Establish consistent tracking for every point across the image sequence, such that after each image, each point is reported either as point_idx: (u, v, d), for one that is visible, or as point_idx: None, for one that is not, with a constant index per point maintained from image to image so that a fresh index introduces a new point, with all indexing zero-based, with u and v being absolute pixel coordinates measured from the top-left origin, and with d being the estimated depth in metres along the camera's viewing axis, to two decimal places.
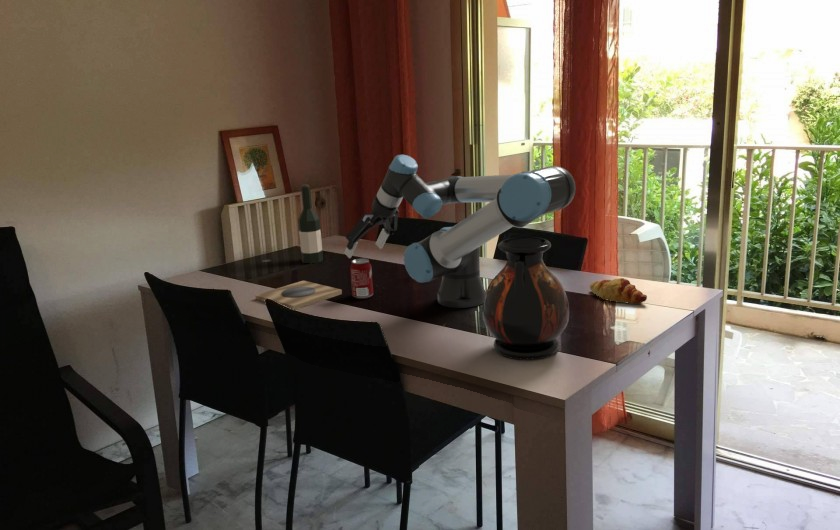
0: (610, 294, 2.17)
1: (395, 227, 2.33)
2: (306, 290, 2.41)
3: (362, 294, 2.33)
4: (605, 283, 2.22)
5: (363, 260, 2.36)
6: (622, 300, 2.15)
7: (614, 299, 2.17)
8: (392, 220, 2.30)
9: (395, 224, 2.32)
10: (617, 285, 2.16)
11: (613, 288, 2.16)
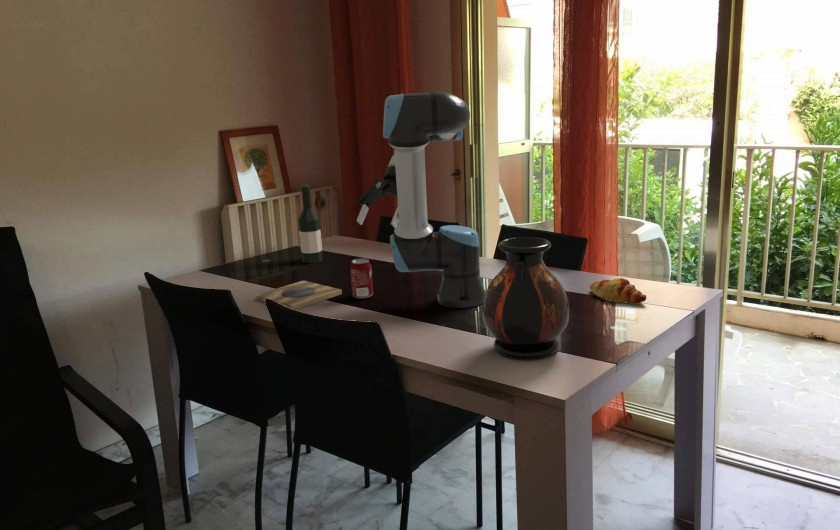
0: (610, 294, 2.17)
1: None
2: (306, 290, 2.41)
3: (362, 294, 2.33)
4: (605, 283, 2.22)
5: (363, 260, 2.36)
6: (621, 300, 2.15)
7: (614, 299, 2.17)
8: None
9: None
10: (617, 285, 2.16)
11: (613, 288, 2.16)
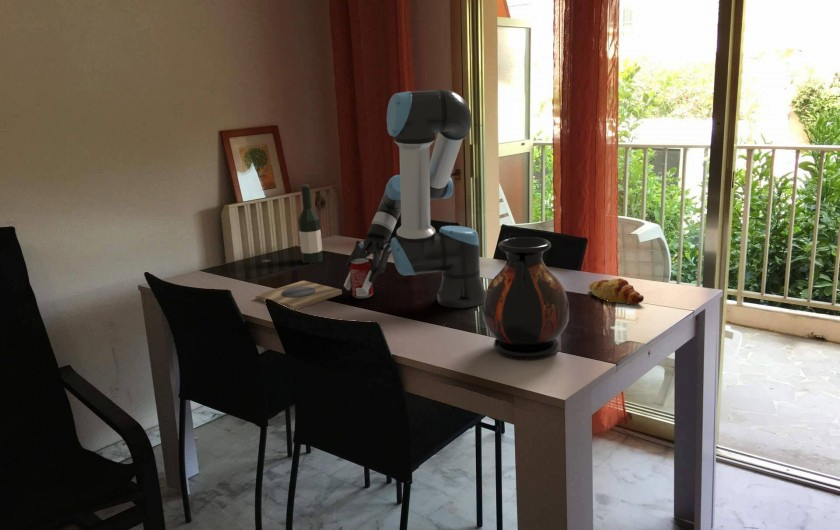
0: (607, 294, 2.17)
1: (379, 265, 2.32)
2: (306, 290, 2.41)
3: (362, 294, 2.33)
4: (603, 283, 2.22)
5: (363, 260, 2.36)
6: (619, 300, 2.15)
7: (611, 299, 2.17)
8: None
9: (381, 260, 2.33)
10: (615, 285, 2.16)
11: (610, 288, 2.16)
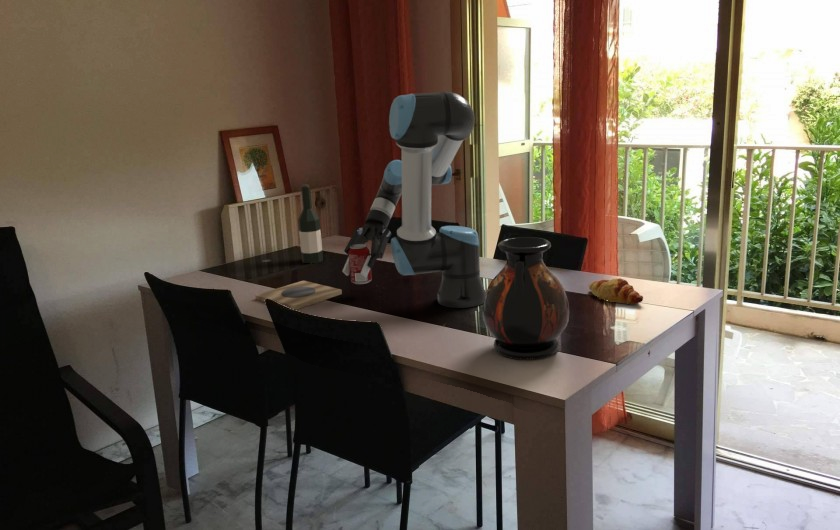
0: (607, 294, 2.17)
1: (378, 250, 2.32)
2: (306, 290, 2.41)
3: (361, 280, 2.32)
4: (603, 283, 2.22)
5: (361, 245, 2.35)
6: (618, 300, 2.15)
7: (611, 299, 2.17)
8: None
9: (379, 245, 2.33)
10: (614, 285, 2.16)
11: (610, 288, 2.16)
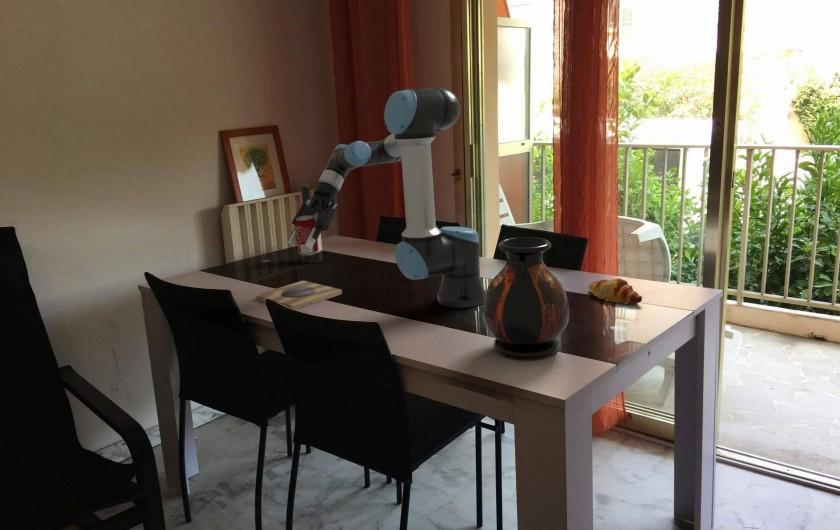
0: (606, 294, 2.17)
1: (323, 222, 2.33)
2: (306, 290, 2.41)
3: (307, 251, 2.35)
4: (602, 283, 2.22)
5: (308, 217, 2.37)
6: (617, 300, 2.15)
7: (610, 299, 2.17)
8: None
9: (325, 217, 2.34)
10: (613, 285, 2.16)
11: (609, 288, 2.16)
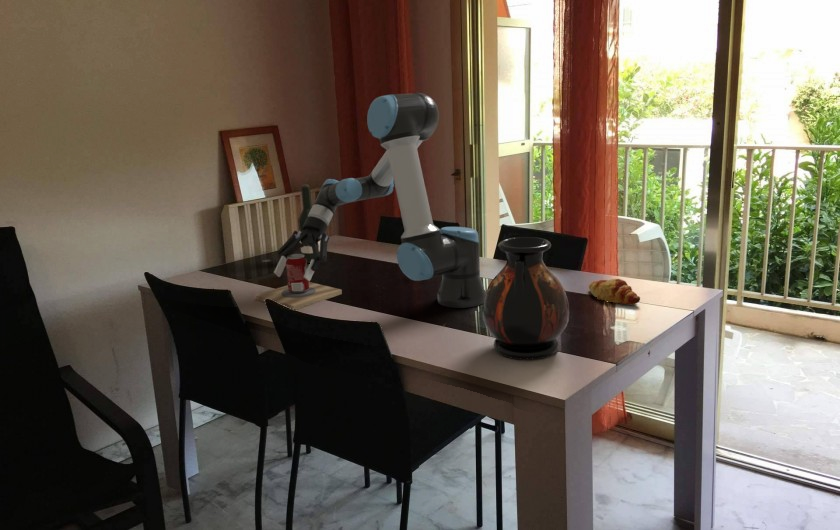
0: (604, 294, 2.17)
1: (320, 254, 2.34)
2: None
3: (297, 289, 2.36)
4: (601, 283, 2.22)
5: (299, 255, 2.39)
6: (616, 301, 2.15)
7: (608, 299, 2.17)
8: None
9: (321, 249, 2.35)
10: (612, 286, 2.16)
11: (607, 288, 2.16)
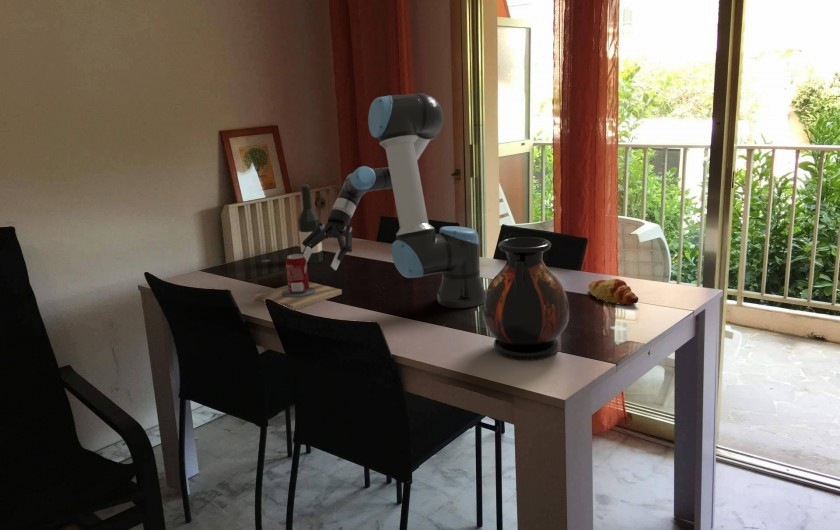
0: (603, 294, 2.17)
1: (346, 244, 2.45)
2: None
3: (297, 289, 2.36)
4: (601, 283, 2.22)
5: (299, 255, 2.39)
6: (614, 301, 2.15)
7: (607, 299, 2.17)
8: None
9: (346, 240, 2.46)
10: (610, 286, 2.16)
11: (606, 288, 2.17)
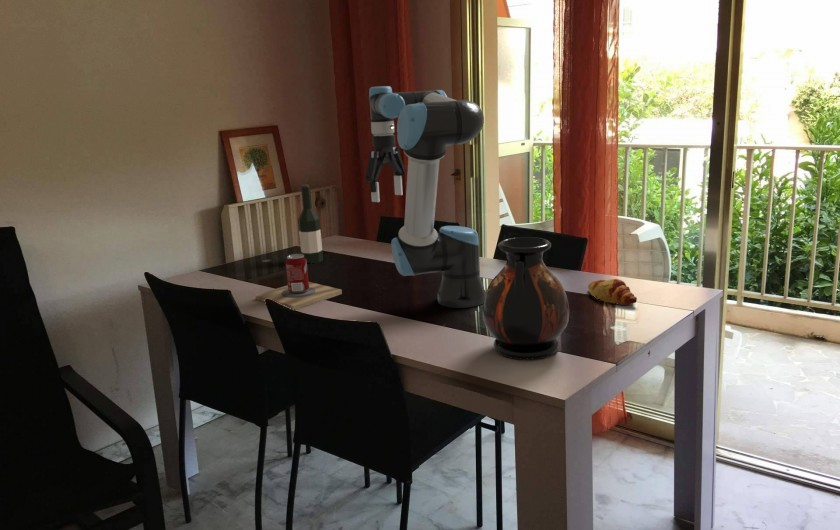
0: (602, 294, 2.17)
1: None
2: None
3: (297, 289, 2.36)
4: (600, 283, 2.22)
5: (299, 255, 2.39)
6: (613, 301, 2.15)
7: (605, 299, 2.17)
8: None
9: None
10: (609, 286, 2.16)
11: (605, 288, 2.17)
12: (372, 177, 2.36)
